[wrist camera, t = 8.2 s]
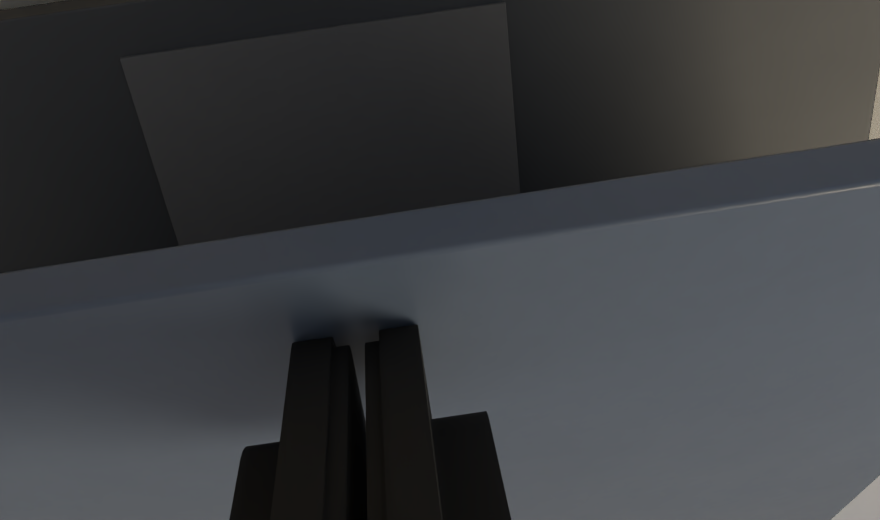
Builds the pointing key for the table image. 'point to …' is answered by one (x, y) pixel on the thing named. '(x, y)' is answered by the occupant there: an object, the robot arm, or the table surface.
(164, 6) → the dark grey flat slab
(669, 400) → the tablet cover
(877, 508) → the table surface
